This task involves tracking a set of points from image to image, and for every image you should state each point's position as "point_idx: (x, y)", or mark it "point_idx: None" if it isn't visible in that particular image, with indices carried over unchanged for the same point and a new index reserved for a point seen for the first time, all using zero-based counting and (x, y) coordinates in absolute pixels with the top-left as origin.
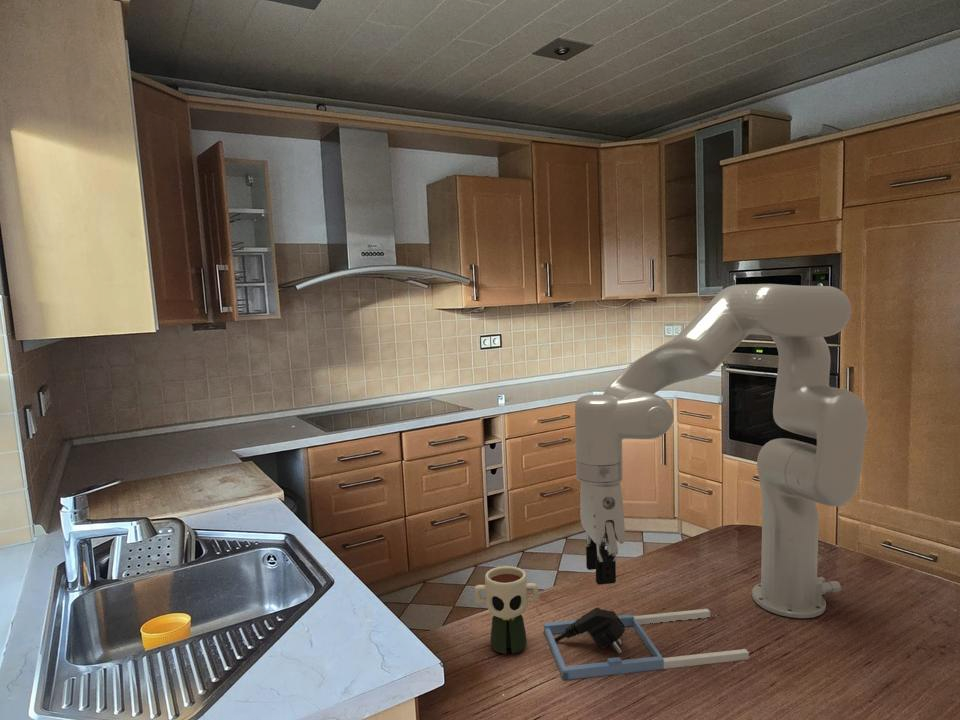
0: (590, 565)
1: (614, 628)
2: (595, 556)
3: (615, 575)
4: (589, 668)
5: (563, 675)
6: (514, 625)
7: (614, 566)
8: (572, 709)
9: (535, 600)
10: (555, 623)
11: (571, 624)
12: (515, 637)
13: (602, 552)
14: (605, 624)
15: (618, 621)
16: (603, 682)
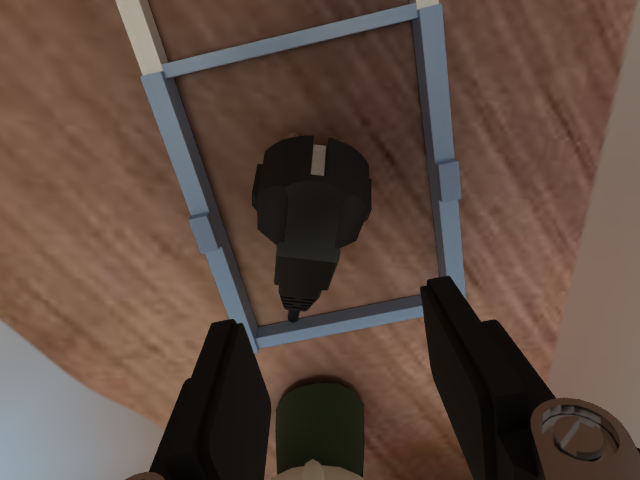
0: (267, 415)
1: (362, 184)
2: (245, 440)
3: (463, 299)
4: (461, 249)
5: None
6: (358, 459)
7: (494, 351)
8: (564, 282)
9: (322, 469)
10: None
11: (285, 302)
12: (359, 430)
13: (225, 423)
14: (343, 216)
15: (332, 168)
16: (476, 205)
